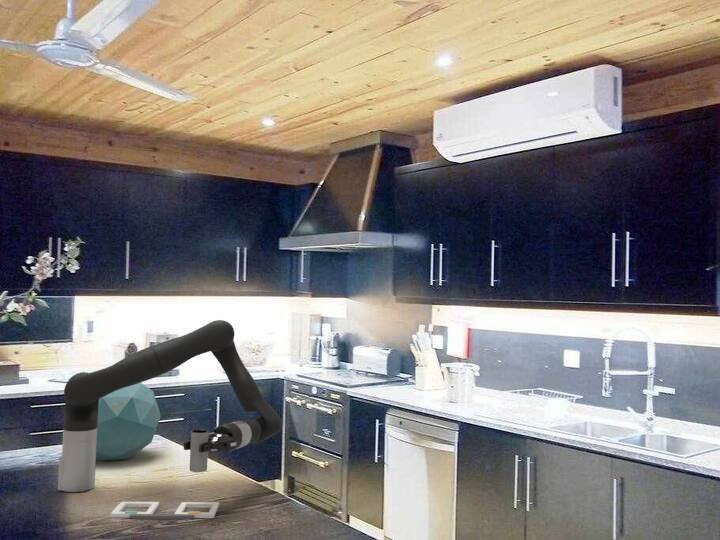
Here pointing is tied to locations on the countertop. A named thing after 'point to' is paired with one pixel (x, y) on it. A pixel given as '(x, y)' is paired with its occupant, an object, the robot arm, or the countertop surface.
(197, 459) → the planter
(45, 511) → the countertop surface
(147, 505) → the socket
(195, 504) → the socket
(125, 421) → the sculpture
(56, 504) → the countertop surface
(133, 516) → the thin gray bar
